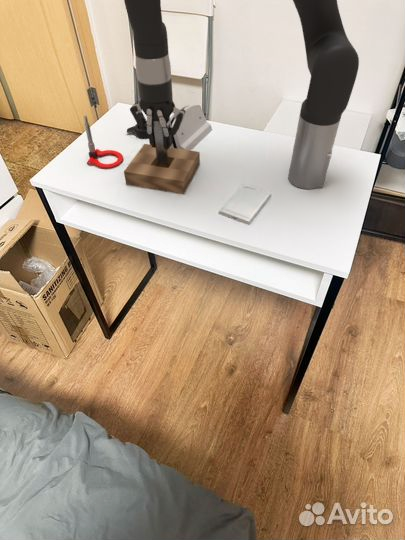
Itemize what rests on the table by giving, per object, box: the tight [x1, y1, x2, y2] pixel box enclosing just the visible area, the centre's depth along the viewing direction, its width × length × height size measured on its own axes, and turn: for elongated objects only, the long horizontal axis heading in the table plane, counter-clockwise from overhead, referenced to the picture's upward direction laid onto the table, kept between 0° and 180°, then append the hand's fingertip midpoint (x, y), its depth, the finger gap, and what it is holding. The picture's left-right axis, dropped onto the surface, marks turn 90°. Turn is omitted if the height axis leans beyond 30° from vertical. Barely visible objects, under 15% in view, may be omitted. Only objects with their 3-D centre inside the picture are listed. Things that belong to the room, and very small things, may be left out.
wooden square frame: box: [123, 143, 201, 195], centre depth 101 cm, size 16×14×4 cm
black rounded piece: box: [126, 123, 149, 140], centre depth 116 cm, size 8×10×3 cm
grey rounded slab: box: [170, 104, 213, 151], centre depth 112 cm, size 17×5×10 cm, turn 151°
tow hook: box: [83, 115, 124, 170], centre depth 102 cm, size 8×13×9 cm
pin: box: [152, 120, 168, 163], centre depth 95 cm, size 3×3×11 cm
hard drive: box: [218, 184, 272, 226], centre depth 93 cm, size 2×8×12 cm
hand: (161, 146), depth 96 cm, fingers closed on pin, 3 cm apart
